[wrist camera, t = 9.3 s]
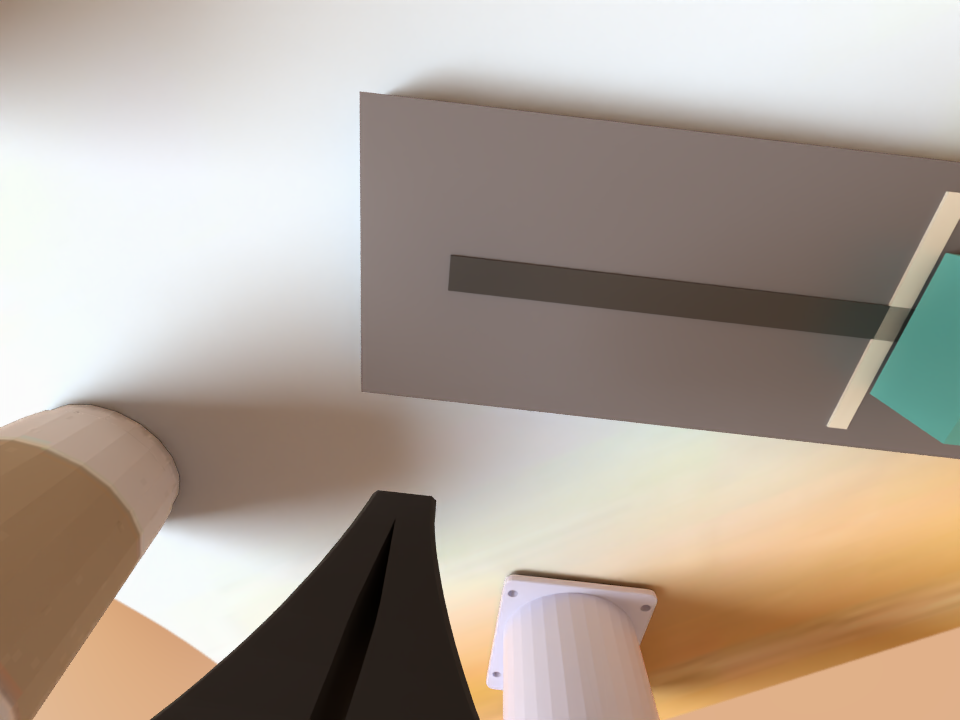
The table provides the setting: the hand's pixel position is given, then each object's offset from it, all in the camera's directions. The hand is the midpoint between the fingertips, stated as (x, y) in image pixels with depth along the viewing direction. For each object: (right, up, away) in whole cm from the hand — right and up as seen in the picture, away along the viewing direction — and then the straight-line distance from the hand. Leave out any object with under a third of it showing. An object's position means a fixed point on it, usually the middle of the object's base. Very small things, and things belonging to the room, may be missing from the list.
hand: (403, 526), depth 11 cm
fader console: (+10, +7, +7) cm, 14 cm away
